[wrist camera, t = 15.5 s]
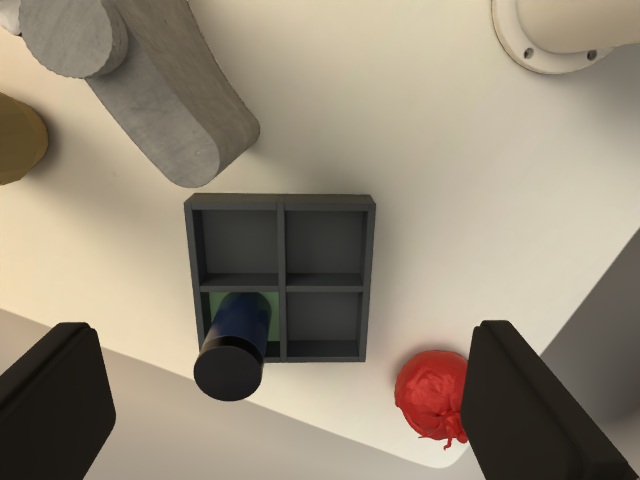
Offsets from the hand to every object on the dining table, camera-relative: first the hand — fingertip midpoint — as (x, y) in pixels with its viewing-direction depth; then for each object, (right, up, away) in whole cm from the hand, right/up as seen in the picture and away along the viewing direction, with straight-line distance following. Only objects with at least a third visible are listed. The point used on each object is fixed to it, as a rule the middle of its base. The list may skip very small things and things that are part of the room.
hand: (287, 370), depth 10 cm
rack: (-3, 0, +31) cm, 32 cm away
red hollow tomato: (+14, -13, +37) cm, 41 cm away
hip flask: (-10, +19, +25) cm, 32 cm away
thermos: (-7, -4, +32) cm, 33 cm away
